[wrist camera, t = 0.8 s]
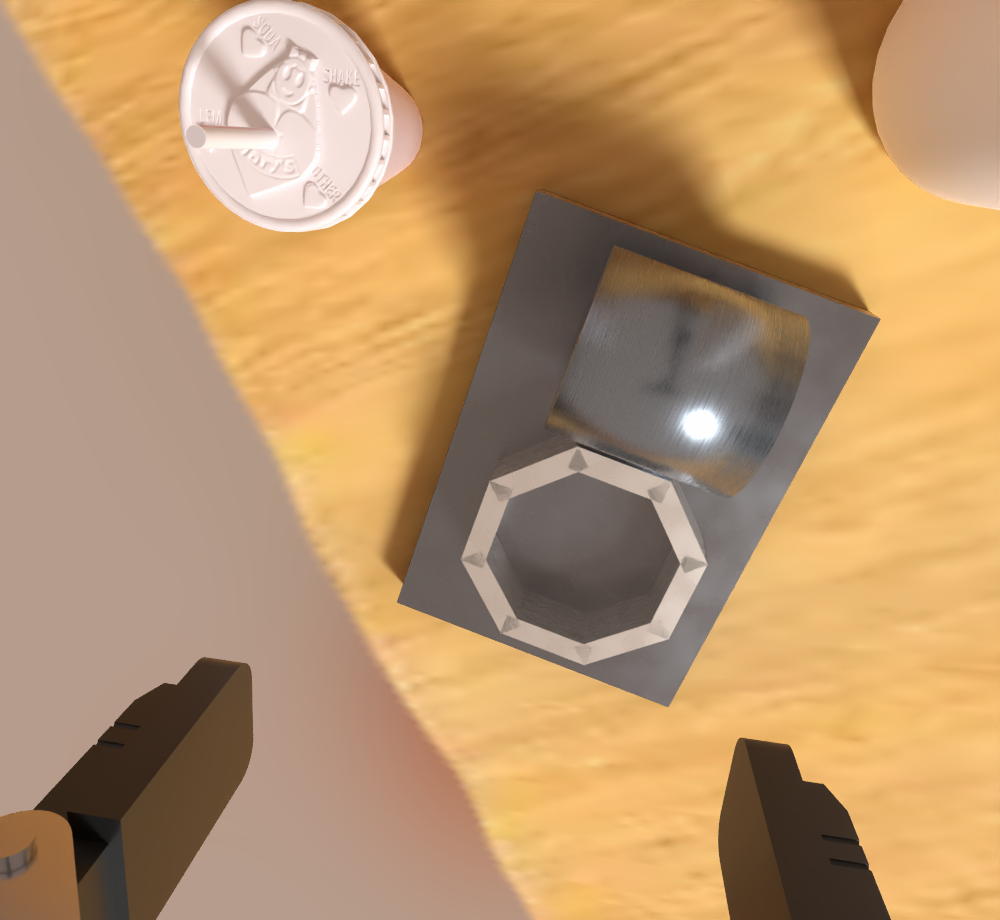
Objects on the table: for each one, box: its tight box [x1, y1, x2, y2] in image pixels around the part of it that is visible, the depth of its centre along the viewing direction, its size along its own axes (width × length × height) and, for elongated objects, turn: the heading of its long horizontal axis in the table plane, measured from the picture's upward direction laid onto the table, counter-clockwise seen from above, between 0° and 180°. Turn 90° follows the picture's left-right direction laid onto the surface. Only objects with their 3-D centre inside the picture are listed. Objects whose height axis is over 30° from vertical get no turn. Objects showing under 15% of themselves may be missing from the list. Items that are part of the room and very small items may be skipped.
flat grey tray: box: [397, 189, 880, 707], centre depth 32 cm, size 20×14×8 cm
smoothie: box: [179, 0, 423, 232], centre depth 25 cm, size 6×6×14 cm
